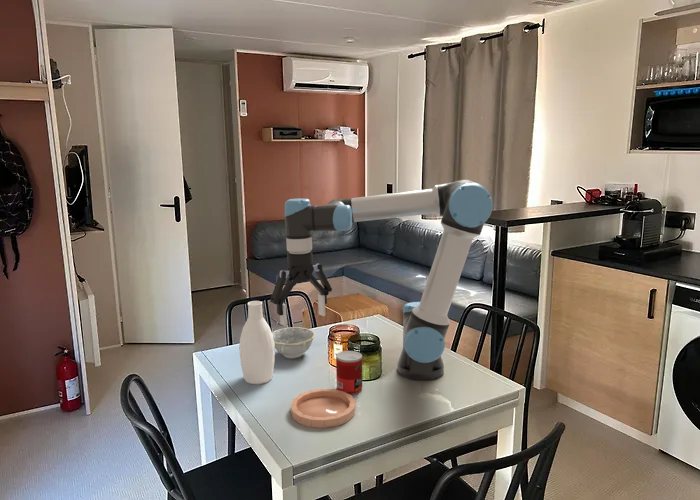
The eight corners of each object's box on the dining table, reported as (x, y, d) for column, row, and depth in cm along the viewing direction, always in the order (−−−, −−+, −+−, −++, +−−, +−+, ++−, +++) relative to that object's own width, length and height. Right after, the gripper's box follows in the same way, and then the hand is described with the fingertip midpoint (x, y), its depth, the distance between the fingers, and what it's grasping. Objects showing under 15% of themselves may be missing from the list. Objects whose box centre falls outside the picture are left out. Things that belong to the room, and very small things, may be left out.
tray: (357, 396, 159) (357, 390, 159) (351, 428, 142) (351, 421, 141) (298, 394, 161) (298, 387, 161) (285, 425, 144) (284, 418, 143)
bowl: (296, 367, 180) (296, 346, 179) (260, 357, 189) (259, 337, 187) (323, 351, 194) (323, 331, 192) (289, 343, 202) (288, 324, 200)
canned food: (360, 395, 160) (359, 361, 158) (334, 393, 162) (333, 359, 159) (364, 384, 167) (364, 351, 165) (339, 382, 169) (339, 349, 167)
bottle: (267, 368, 180) (264, 295, 175) (281, 380, 171) (278, 304, 166) (235, 376, 174) (231, 301, 169) (248, 389, 165) (244, 310, 160)
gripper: (327, 243, 168) (330, 308, 173) (255, 255, 154) (260, 325, 158) (341, 247, 162) (343, 313, 167) (267, 259, 148) (272, 332, 152)
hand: (303, 319), depth 162 cm, fingers open, 13 cm apart
